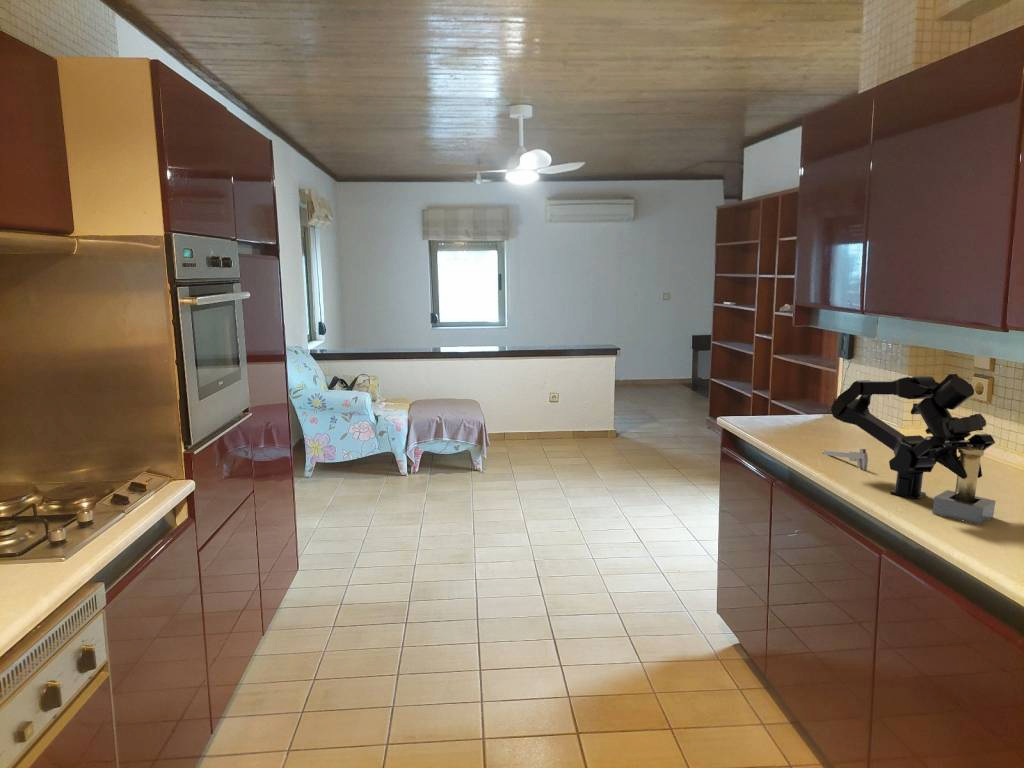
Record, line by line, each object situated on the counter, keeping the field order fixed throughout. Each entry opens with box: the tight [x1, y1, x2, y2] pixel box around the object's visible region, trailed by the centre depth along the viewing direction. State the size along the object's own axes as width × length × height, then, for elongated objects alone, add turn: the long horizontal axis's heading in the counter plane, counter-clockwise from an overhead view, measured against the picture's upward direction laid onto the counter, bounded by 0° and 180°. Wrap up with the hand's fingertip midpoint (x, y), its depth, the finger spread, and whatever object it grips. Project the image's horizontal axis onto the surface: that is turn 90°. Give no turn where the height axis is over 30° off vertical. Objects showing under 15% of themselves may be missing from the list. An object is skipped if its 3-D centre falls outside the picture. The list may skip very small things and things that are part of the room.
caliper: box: [821, 448, 869, 471], centre depth 215 cm, size 20×1×6 cm, turn 10°
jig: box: [931, 489, 996, 526], centre depth 168 cm, size 9×10×4 cm
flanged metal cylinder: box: [954, 446, 985, 504], centre depth 167 cm, size 5×5×13 cm
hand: (972, 477), depth 165 cm, fingers closed on flanged metal cylinder, 4 cm apart
